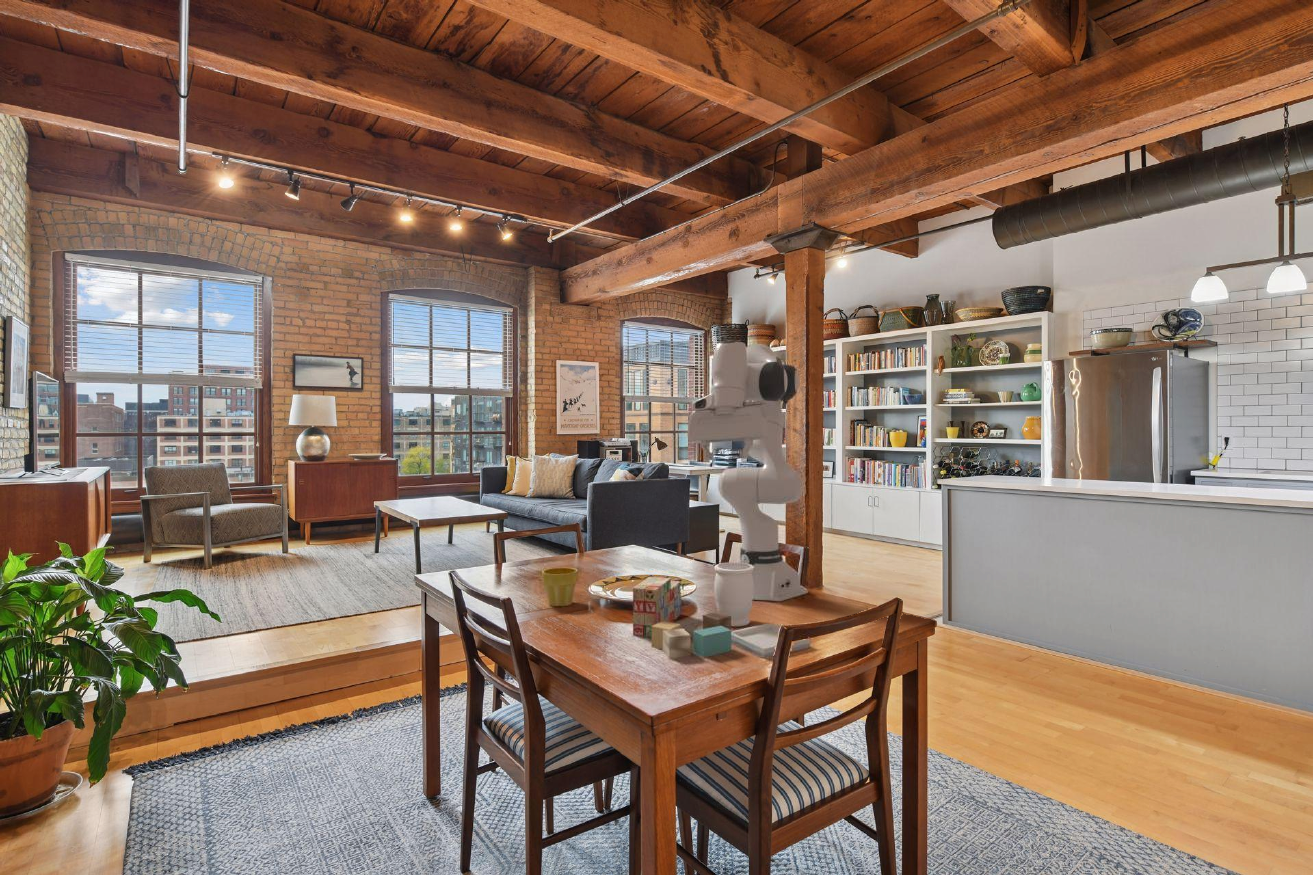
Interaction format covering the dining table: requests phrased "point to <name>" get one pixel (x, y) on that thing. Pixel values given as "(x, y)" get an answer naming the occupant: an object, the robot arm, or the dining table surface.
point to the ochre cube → (661, 632)
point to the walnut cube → (716, 620)
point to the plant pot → (560, 585)
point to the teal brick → (712, 641)
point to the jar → (734, 591)
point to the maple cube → (676, 643)
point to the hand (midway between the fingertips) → (725, 459)
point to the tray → (762, 640)
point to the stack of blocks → (655, 604)
